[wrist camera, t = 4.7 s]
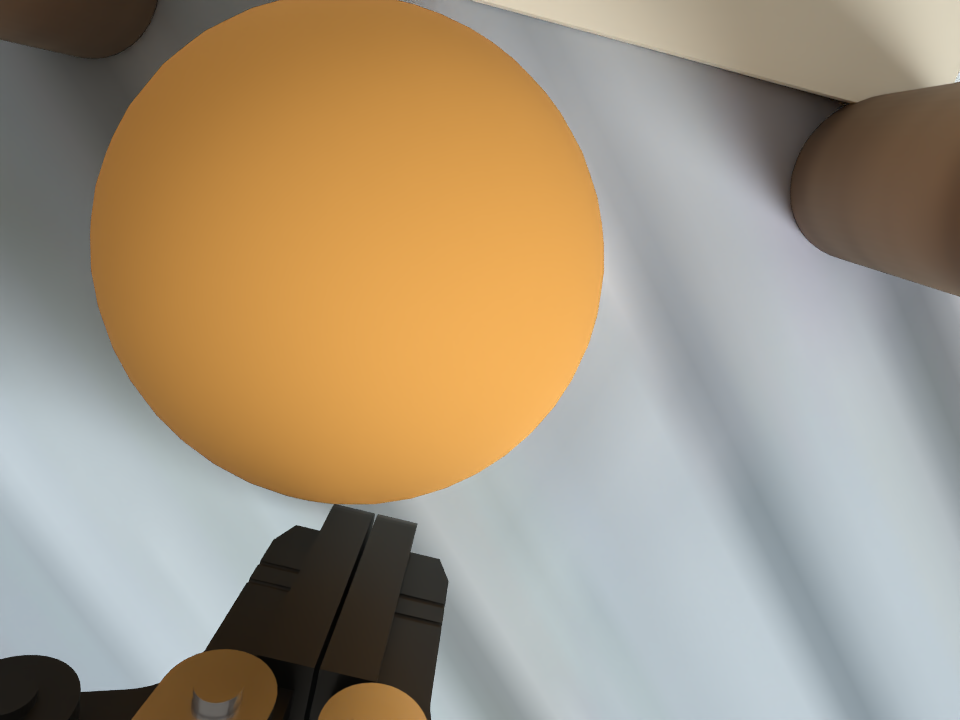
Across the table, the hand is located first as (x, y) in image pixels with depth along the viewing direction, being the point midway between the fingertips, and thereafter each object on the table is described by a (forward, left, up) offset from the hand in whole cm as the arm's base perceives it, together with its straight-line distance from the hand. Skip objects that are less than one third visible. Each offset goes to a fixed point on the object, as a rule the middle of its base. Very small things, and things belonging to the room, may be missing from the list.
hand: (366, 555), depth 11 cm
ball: (+1, -5, +2) cm, 6 cm away
